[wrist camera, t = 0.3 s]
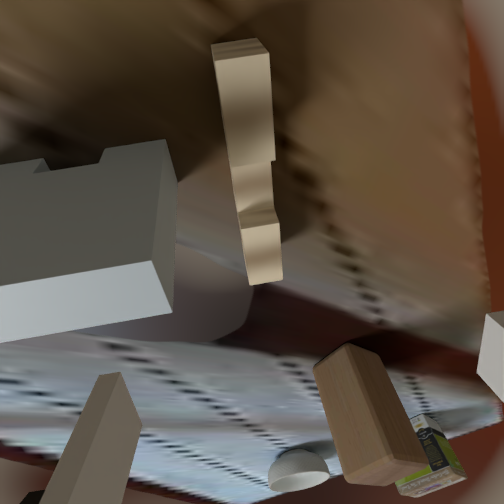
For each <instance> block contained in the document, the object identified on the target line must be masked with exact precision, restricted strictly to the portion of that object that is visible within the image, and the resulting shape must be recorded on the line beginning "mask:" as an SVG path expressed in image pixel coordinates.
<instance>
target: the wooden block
mask: <svg viewBox="0 0 504 504" xmlns="http://www.w3.org/2000/svg"><path fill="white" fill-rule="evenodd" d="M313 374H314V377H315V381H316V384H317V387H318V391H319V394H320V397H321V401H322V404H323V407H324V411H325V414H326V417H327V421H328V424H329V427H330V431H331V434H332V437H333V441H334V444H335V447H336V451H337V454H338V457H339V461H340V464H341V467H342V471H343V474H344V477H345V479H346V481H347V482H349V483H354V484H365V485H377V486H386V485H389V484H391V483H393V482H396V481H398V480H400V479H402V478H405V477H407V476H409V475H411V474H414V473H416V472H418V471H420V470H423V469H425V468H426V467H427V466H428V465H429V460H428V458H427V456H426V454H425V451H424V449H423V447H422V445H421V443H420V441H419V439H418V437H417V435H416V433H415V430H414V428H413V426H412V424H411V422H410V420H409V418H408V416H407V414H406V412H405V409H404V407H403V405H402V403H401V401H400V399H399V397H398V395H397V393H396V390H395V388H394V386H393V384H392V382H391V380H390V378H389V376H388V374H387V372H386V369H385V367H384V365H383V363H382V361H381V359H380V357H379V356H378V355H377V354H376V353H374V352H371V351H369V350H366V349H363V348H361V347H358V346H356V345H353V344H351V343H346V344H343V345H342V346H341V347H339V348H338V349H337V350H335V351H334V352H333V353H331V354H330V355H328V356H327V357H326V358H324V359H323V360H322V361H320V362H319V363H318V364H316V365H315V366H314V367H313Z"/></svg>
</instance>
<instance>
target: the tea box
mask: <svg viewBox="0 0 504 504" xmlns="http://www.w3.org/2000/svg"><path fill="white" fill-rule="evenodd" d="M410 422H411V424H412V426H413V428H414V430H415V433H416V435H417V437H418V439H419V441H420V443H421V445H422V447H423V449H424V451H425V454H426V456H427V458H428V460H429V465H428V466H427V467H426V468H425V469H423V470H420V471H418V472H416V473H414V474H411V475H409V476H407V477H405V478H402V479H400V480H398V481H396V482H395V484H396V486H397V488H398V490H399V493H400V495H405V496H412V497H416V498H417V497H420V496H422V495H425V494H428V493H431V492H433V491H436V490H438V489H441V488H444V487H447V486H449V485H452V484H454V483H457V482H460V481H462V480H465V479H467V476H466V474H465V472H464V470H463V468H462V466H461V465H460V463H459V461H458V459H457V457H456V456H455V454H454V452H453V450H452V448H451V446H450V444H449V443H448V441H447V439H446V437H445V435H444V434H443V432H442V430H441V428H440V426H439V425H438V423H437V422H436V421H435V420H433V419H431V418H430V417H428V416H426V415H424V414H421V415H418V416H416V417H414V418H412V419H410Z"/></svg>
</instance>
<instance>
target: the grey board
mask: <svg viewBox="0 0 504 504" xmlns="http://www.w3.org/2000/svg"><path fill="white" fill-rule="evenodd" d="M177 191H178V182H177V178H176V175H175V171H174V168H173V164H172V160H171V157H170V153H169V150H168V146H167V143H166V139H162V140H156V141H149V142H143V143H136V144H130V145H124V146H117V147H111V148H105V149H104V152H103V154H102V156H101V159H100V161H99V163H98V164H91V165H85V166H79V167H72V168H66V169H60V170H54V171H50V169H49V167H48V166H47V164H46V162H45V160H44V158H41V159H34V160H28V161H22V162H15V163H9V164H3V165H0V343H2V342H8V341H14V340H19V339H25V338H31V337H36V336H42V335H48V334H53V333H59V332H65V331H70V330H76V329H81V328H86V327H92V326H98V325H104V324H109V323H116V322H121V321H127V320H133V319H138V318H144V317H149V316H155V315H161V314H166V313H172V311H173V287H174V264H175V240H176V215H177Z"/></svg>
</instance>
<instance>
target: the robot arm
mask: <svg viewBox="0 0 504 504" xmlns="http://www.w3.org/2000/svg"><path fill="white" fill-rule="evenodd" d="M477 373H478V374H479V375H480V377H481V378H482V379H483V380H484V381H485V382H486V383H487V384H488V386H489V387H490V388H491V389H492V390H493V391H494V392H495V393H496V395H497V396H498V397H499V398H500V399H501V400H502V401H503V402H504V311H500V312H494V313H487V314H486V319H485V325H484V331H483V337H482V343H481V349H480V355H479V362H478V368H477ZM141 428H142V423H141V420H140V418H139V416H138V413H137V411H136V408H135V406H134V404H133V401H132V399H131V396H130V394H129V392H128V389H127V387H126V384H125V382H124V379H123V377H122V375H121V372H116V373H110V374H104V375H99V377H98V379H97V381H96V383H95V385H94V388H93V390H92V392H91V394H90V396H89V398H88V400H87V402H86V405H85V407H84V409H83V411H82V413H81V415H80V417H79V420H78V422H77V424H76V426H75V428H74V430H73V432H72V434H71V437H70V439H69V441H68V443H67V445H66V447H65V449H64V452H63V454H62V456H61V458H60V460H59V462H58V464H57V466H56V469H55V471H54V473H53V475H52V477H51V479H50V482H49V484H48V486H47V488H46V490H40V491H35V492H29V493H28V494H27V495H26V497H25V498H24V499H23V501H22V502H21V503H20V504H121V502H122V499H123V495H124V491H125V488H126V484H127V480H128V476H129V473H130V469H131V465H132V461H133V458H134V454H135V450H136V447H137V443H138V439H139V435H140V432H141Z"/></svg>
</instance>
